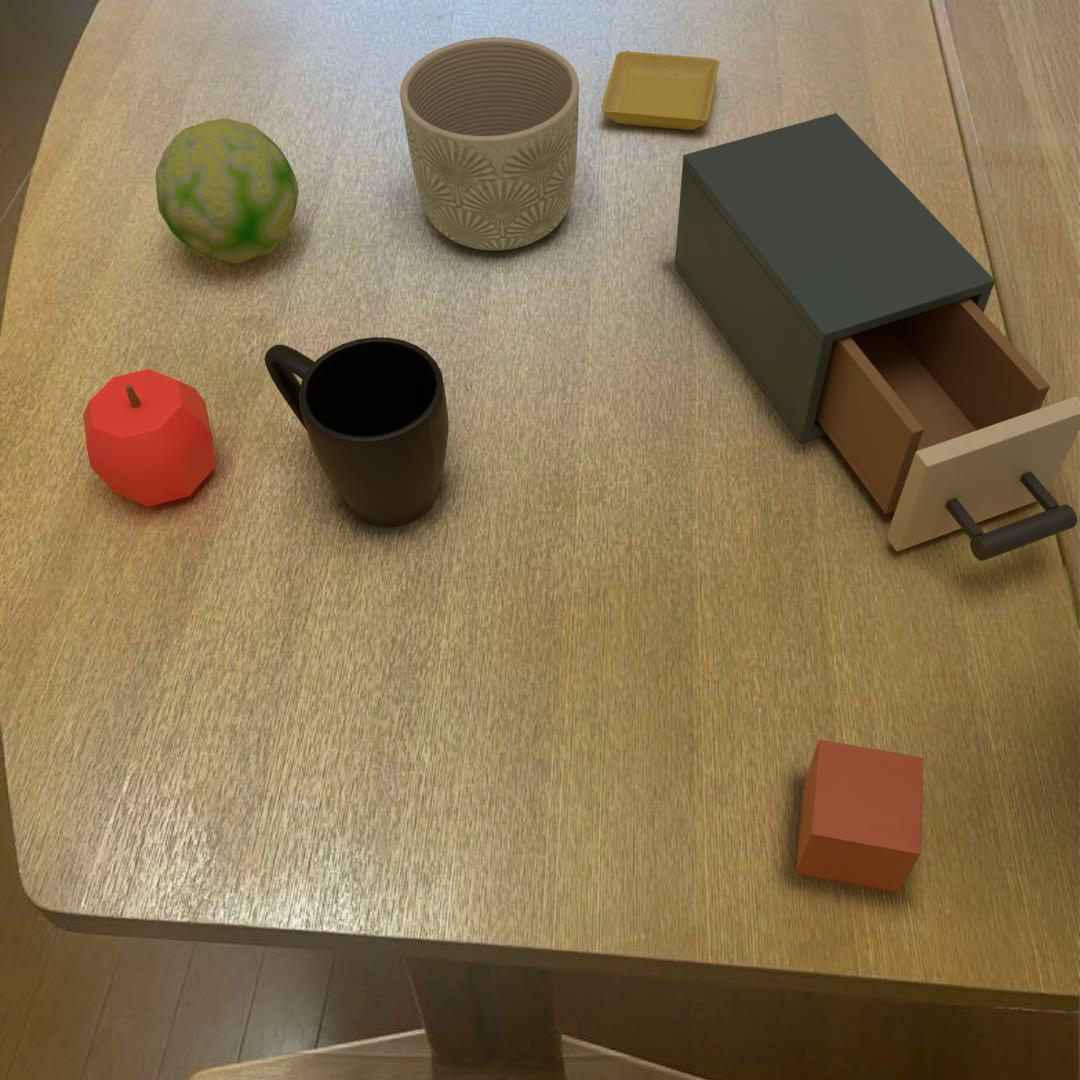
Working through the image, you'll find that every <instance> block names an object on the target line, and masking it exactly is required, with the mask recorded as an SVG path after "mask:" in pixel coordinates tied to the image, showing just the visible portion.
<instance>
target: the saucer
mask: <svg viewBox="0 0 1080 1080" xmlns="http://www.w3.org/2000/svg"><path fill="white" fill-rule="evenodd" d="M720 63H721V62H720V60H717V59H716V58H709V57H700V56H689V55H688V56H687V55H677V54H676V55H675V54H663V53H662V54H661V53H653V52H652V53H651V52H642V51H641V52H639V51H628V50H623V51H620V52H618V53H617V54H616V55H615V59H614V62H613V65H612V70H611V72H610V77H609V80H608V83H607V87H606V90H605V94H604V98H603V100H602V104H601V107H600V108H601V111H602V113H603V114H604V115H605V116H606V117H608V118H609V119H610V120H612V121H613V122H615V123H617V124H620V125H624V126H634V127H645V128H646V127H647V128H655V129H656V128H657V129H666V130H667V129H668V130H678V131H679V130H680V131H694V130H696V129H698V128H700V127H702V126H703V125H704V124H705V123H706V122H707V121H708V120H709V118H710V114H711V107H712V103H713V97H714V92H715V88H716V87H715V86H716V82H717V77H718V72H719V67H720Z"/></svg>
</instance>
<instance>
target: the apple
mask: <svg viewBox="0 0 1080 1080" xmlns="http://www.w3.org/2000/svg"><path fill="white" fill-rule="evenodd" d="M82 419H83V427H84V437H85V445H86V452H87V457H88V460H89V466H90V468H91V469H92V470H93V472H94V473H95V474H96V475H97V476H98V477H99V478H100V479H101V480H102V481H103V482H104V483H105V484H106V486H108V487H109V489H110V490H112V492H113V493H115V494H117V495H120V496H122V497H124V498H126V499H128V500H131V501H133V502H136V503H137V504H139V505H142V506H145V507H146V508H148V507H152V506H157V505H160V504H164V503H167V502H171V501H172V502H173V501H176V500H179V499H180V500H181V499H183V498H187V497H191V495H192V494H193V493H194V492H195V491H196V490H197V488H198V487H199V486H200V485H201V484H202V483H203V482H204V480H205V479H206V478H207V477H208V476H209V475H210V474H211V473H212V471H213V470H214V469H215V468H216V463H215V462H216V461H215V452H214V451H215V450H214V439H213V438H214V437H213V432H212V429H211V423H210V417H209V413H208V408H207V403H206V401H205V399H203V397H202V395H201V394H200V393H199V391H198V390H197V389H196V388H195V387H193V386H192V385H190V384H187V383H186V382H183V381H180V380H178V379H176V378H173V377H170V376H169V375H166V374H162V373H160V372H158V371H155V370H152V369H150V368H146V369H143V370H138V371H134V372H129V373H125V374H121V375H116V376H112V377H111V379H109V381H108V382H107V383H105V384H104V386H102V387H101V388H100V390H98V391H97V392H96V393H95V395H94V396H93V397H91V399H89V400H88V404H87V405H86V407H85V409H84V411H83V413H82Z"/></svg>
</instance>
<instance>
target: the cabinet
mask: <svg viewBox="0 0 1080 1080" xmlns="http://www.w3.org/2000/svg"><path fill="white" fill-rule="evenodd" d="M680 179H681V180H680V192H679V193H680V194H679V205H678V218H677V230H676V241H675V242H676V243H675V254H674V255H675V256H674V257H675V258H674V269H675V271H676V272H677V273H678V274H679V276H680V277H681V279H682V280H683V281H684V283H685V285H686V286H687V287H688V289H689V290H690V291H691V292H692V295H694V297H695V298H696V300H697V301H698V303H699V304H700V306H701V307H702V308H703V310H704V311H705V313H706V314H707V315H708V317H709V318H710V319H711V321H712V323H713V324H714V325H715V327H716V328H717V330H718V331H719V332H720V334H721V335H722V336H723V338H724V340H725V341H726V342H727V344H728V345H729V347H730V348H731V349H732V351H733V352H734V354H735V355H736V356H737V358H738V359H739V361H740V362H741V364H742V365H743V367H745V369H746V370H747V372H748V373H749V375H750V376H751V378H752V379H753V380H754V382H755V383H756V385H757V386H758V387H759V389H760V390H761V392H762V393H763V394H764V396H765V397H766V399H767V400H768V401H769V403H770V404H771V406H772V407H773V409H774V410H775V411H776V413H777V414H778V415H779V417H780V418H781V420H782V421H783V423H784V424H785V425H786V427H787V428H788V430H789V431H790V432H791V434H792V435H793V436H794V438H795V440H796V441H797V442H798V444H799V445H803V444H804V443H807V442H811V441H814V440H817V439H820V438H822V437H825V436H828V435H827V433H826V432H825V431H824V429H823V428H822V427H821V425H820V424H819V423H818V421H817V420H816V414H817V410H818V405H819V401H820V397H821V392H822V388H823V384H824V379H825V375H826V371H827V366H828V362H829V358H830V353H831V349H832V345H833V341H834V340H837V339H840V338H843V337H846V336H849V335H853V334H856V333H859V332H862V331H865V330H868V329H871V328H875V327H878V326H881V325H884V324H887V323H890V322H893V321H897V320H900V319H903V318H906V317H909V316H912V315H916V314H919V313H922V312H925V311H928V310H931V309H934V308H938V307H941V306H944V305H947V304H950V303H953V302H956V301H960V300H963V299H966V298H970V299H971V300H972V301H973V302H974V303H975V304H976V305H977V306H978V308H979V309H980V310H981V311H982V312H983V313H984V312H985V310H986V307H987V304H988V302H989V299H990V296H991V294H992V291H993V288H994V285H995V283H996V279H994V278H993V276H992V275H991V274H990V273H989V272H988V271H987V270H986V269H985V268H984V267H983V266H982V265H981V264H980V263H979V262H978V261H977V259H975V257H974V256H973V255H972V254H971V253H970V252H969V251H968V250H967V249H966V248H965V247H964V246H963V245H962V243H961V242H960V241H959V240H958V239H957V238H956V237H954V235H953V234H952V233H951V232H950V231H949V230H948V229H947V228H946V227H945V225H943V223H941V222H940V220H939V219H938V218H937V217H936V216H935V215H934V214H933V213H932V212H931V211H930V210H929V209H928V208H927V207H926V205H924V203H922V202H921V200H920V199H919V198H918V197H917V196H916V195H915V194H914V193H913V192H912V190H910V189H909V188H908V186H906V184H904V182H903V181H901V179H900V178H899V177H898V176H897V175H896V174H895V173H894V172H893V170H891V169H890V168H889V167H888V165H886V163H884V161H883V160H882V159H881V158H880V157H879V156H878V155H877V154H876V153H875V152H874V151H873V150H872V149H871V147H870V146H868V145H867V144H866V142H865V141H864V140H863V139H862V138H861V137H860V136H859V135H858V134H857V133H856V132H855V131H854V130H853V129H852V127H850V125H848V124H847V122H845V120H844V119H843V118H842V117H841V115H839V114H838V113H837V112H835V113H832V114H828V115H827V114H826V115H824V116H820V117H817V118H813V119H809V120H806V121H802V122H798V123H795V124H791V125H787V126H783V127H781V128H775V129H772V130H769V131H765V132H762V133H758V134H755V135H754V134H753V135H751V136H747V137H745V138H740V139H737V140H733V141H730V142H726V143H722V144H718V145H714V146H711V147H708V148H704V149H699V150H696V151H693V152H689V153H686V154H683V156H682V168H681V178H680ZM984 314H985V313H984Z"/></svg>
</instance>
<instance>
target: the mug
mask: <svg viewBox="0 0 1080 1080" xmlns="http://www.w3.org/2000/svg"><path fill="white" fill-rule="evenodd" d="M264 364H265V367H266V370H267V372H268V374H269V376H270V378H271V380H272V381H273V384H274V385H275V386H276V388H277V390H278V391H279V393H280V395H281V396H282V398H283V399H284V400H285V402H286V403H287V405H288V407H289V408H290V410H291V411H292V412H293V413H294V415H295V416H296V418H297V420H298V421H299V422H300V424H301V425H302V426H303V428H304V429H305V430H306V433H307V436H308V439H309V442H310V445H311V447H312V450H313V451H314V455H315V456H316V459H317V461H318V463H319V465H320V467H321V468H322V470H323V472H324V474H325V476H326V477H327V478H328V481H330V482H331V484H332V486H333V487H334V488H335V489H336V491H337V492H338V493H339V495H340V496H341V497H342V498H343V499H344V501H345V502H346V503H347V504H348V505H349V507H350V508H351V510H352V511H353V512H354V514H355V515H356V516H357V517H358V518H360V519H361V520H362V521H364V522H366V523H368V524H370V525H374V526H378V527H383V528H390V527H391V528H392V527H393V528H394V527H399V526H401V527H402V526H405V525H407V524H410V523H413V522H415V521H416V520H418V519H419V518H421V517H422V516H423V515H424V514H426V513H427V512H428V511H429V510H430V508H431V507H432V506H433V504H434V502H435V499H436V498H437V492H438V487H439V485H440V481H441V478H442V475H443V470H444V467H445V463H446V462H445V461H446V457H447V456H446V455H447V449H448V441H449V440H448V439H449V426H450V425H449V423H450V421H449V411H448V410H449V409H448V403H447V396H446V389H445V382H444V376H443V372H442V370H441V368H440V367H439V365H438V363H437V361H436V360H435V359H434V358H433V357H432V356H431V354H429V352H427V351H426V350H424V349H423V348H421V347H420V346H419V345H417V344H414V343H411V342H409V341H406V340H403V339H398V338H392V337H387V336H386V337H382V336H381V337H379V336H371V337H366V338H365V337H364V338H359V339H354V340H351V341H348V342H347V341H346V342H344V343H341V344H339V345H337V346H336V347H333V348H331V349H329V350H327V352H325V353H323V354H322V355H321V356H319V357H318V358H317V359H316V360H315V361H314V360H313V359H311V358H310V357H308V356H307V355H305V354H303V353H302V352H301V351H299V350H297V349H294V348H292V347H291V346H288V345H285V344H274V345H273V346H271V347H269V349H268V350H267V351H266V352H265V354H264ZM297 377H298V378H300V379H301V383H300V381H299V380H298V378H297Z"/></svg>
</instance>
